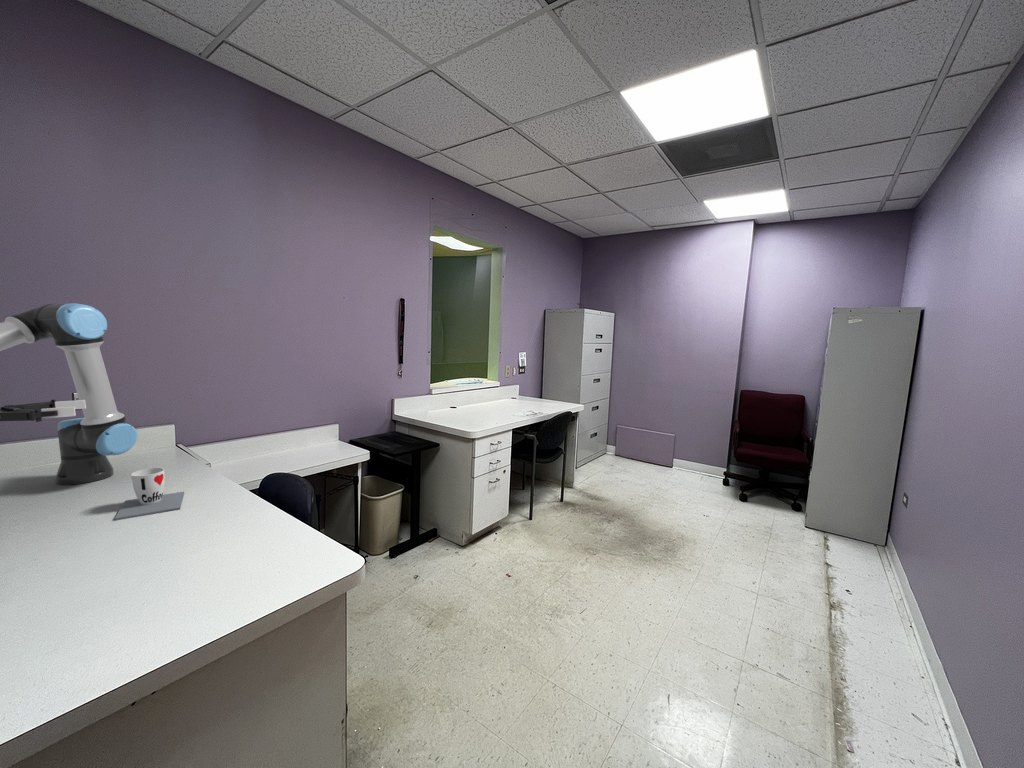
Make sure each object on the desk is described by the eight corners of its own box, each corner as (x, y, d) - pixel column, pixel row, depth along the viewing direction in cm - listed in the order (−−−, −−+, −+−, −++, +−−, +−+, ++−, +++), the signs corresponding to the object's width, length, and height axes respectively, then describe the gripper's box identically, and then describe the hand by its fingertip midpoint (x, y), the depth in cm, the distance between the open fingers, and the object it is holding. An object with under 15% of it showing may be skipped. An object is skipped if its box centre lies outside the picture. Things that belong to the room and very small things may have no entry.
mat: (125, 502, 134) (125, 500, 134) (184, 493, 143) (184, 491, 143) (114, 520, 121) (114, 518, 121) (180, 509, 130) (179, 507, 130)
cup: (137, 508, 128) (134, 477, 127) (131, 502, 133) (127, 472, 132) (170, 500, 134) (167, 471, 133) (163, 494, 139) (160, 466, 138)
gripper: (-9, 420, 124) (90, 412, 137) (-49, 438, 105) (71, 427, 117) (-13, 395, 123) (87, 390, 136) (-54, 409, 104) (68, 401, 116)
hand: (80, 407), depth 127 cm, fingers open, 13 cm apart
